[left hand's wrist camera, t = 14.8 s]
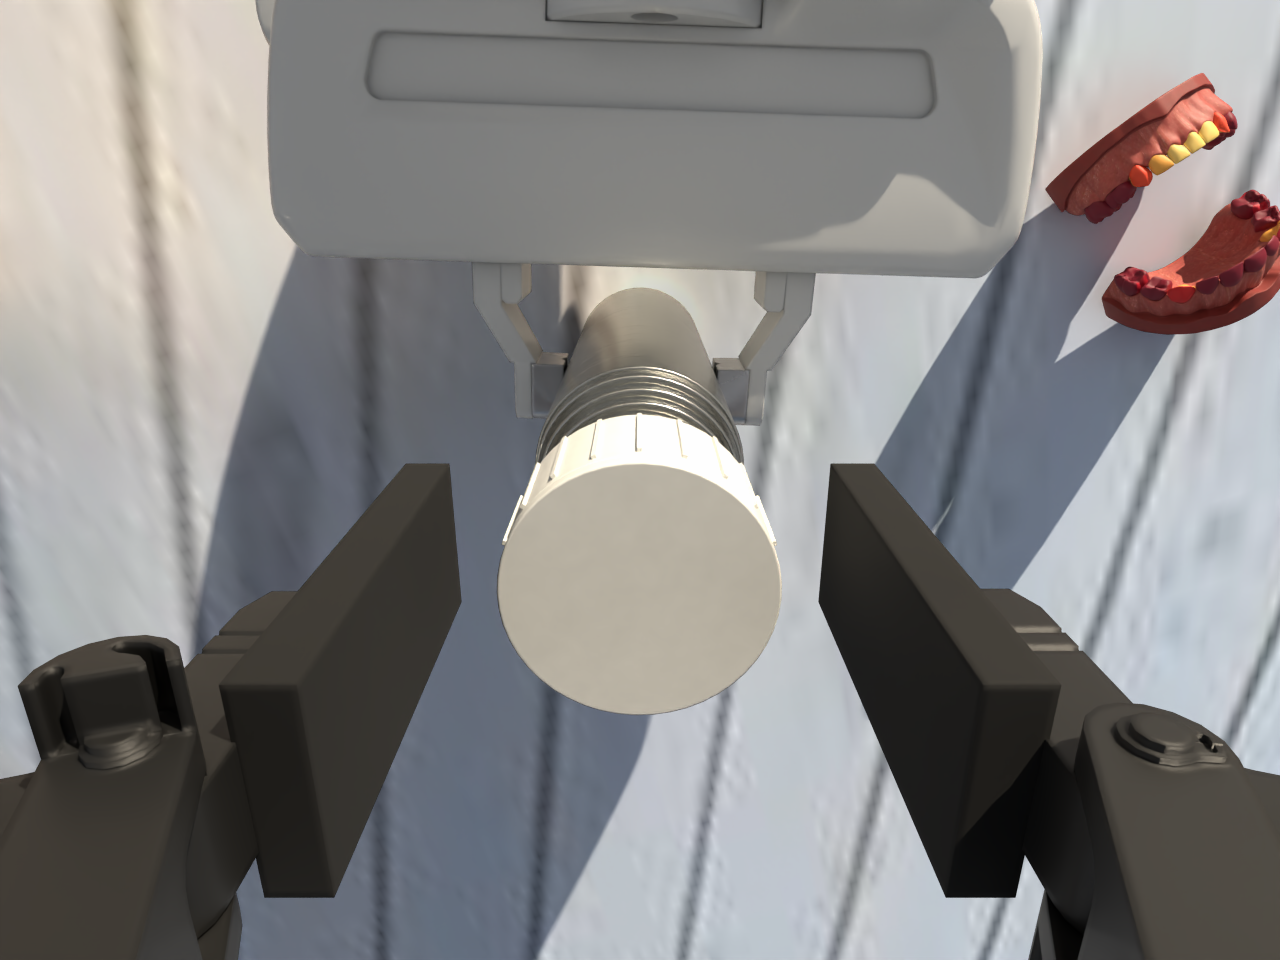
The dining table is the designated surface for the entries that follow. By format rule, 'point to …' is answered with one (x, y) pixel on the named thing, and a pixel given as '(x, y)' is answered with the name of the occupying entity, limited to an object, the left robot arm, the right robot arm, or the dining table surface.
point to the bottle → (639, 372)
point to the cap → (639, 568)
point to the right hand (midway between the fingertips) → (640, 417)
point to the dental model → (1223, 257)
